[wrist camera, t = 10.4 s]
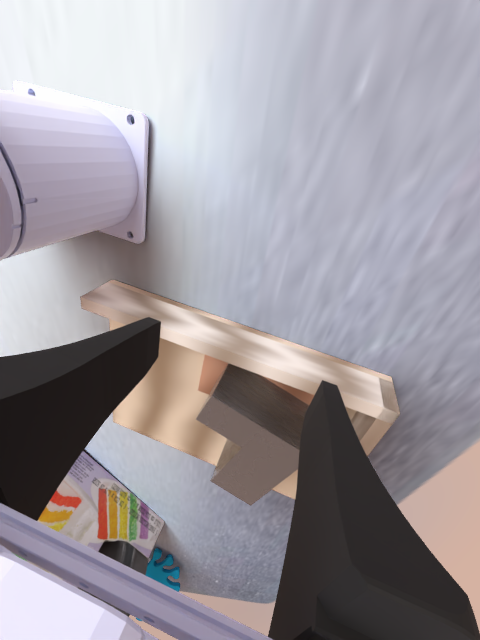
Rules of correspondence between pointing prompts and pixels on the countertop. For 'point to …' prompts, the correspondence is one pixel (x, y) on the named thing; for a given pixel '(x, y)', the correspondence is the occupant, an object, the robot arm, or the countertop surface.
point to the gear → (162, 571)
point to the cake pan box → (102, 517)
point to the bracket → (253, 432)
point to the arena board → (209, 362)
